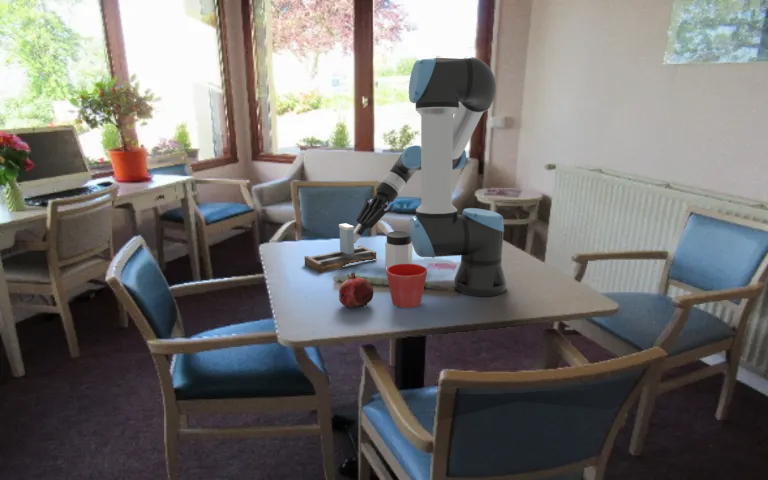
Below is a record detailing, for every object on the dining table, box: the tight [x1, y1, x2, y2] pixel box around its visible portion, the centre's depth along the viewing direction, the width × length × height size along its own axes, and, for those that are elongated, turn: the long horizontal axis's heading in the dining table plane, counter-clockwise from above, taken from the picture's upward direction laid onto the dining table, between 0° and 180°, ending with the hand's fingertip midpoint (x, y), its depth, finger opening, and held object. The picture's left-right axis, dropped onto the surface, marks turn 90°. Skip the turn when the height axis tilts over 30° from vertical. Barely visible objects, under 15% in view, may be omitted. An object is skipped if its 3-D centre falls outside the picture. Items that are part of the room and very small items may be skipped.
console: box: [304, 245, 377, 274], centre depth 169 cm, size 22×10×3 cm, turn 125°
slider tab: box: [338, 223, 355, 256], centre depth 169 cm, size 3×5×11 cm, turn 35°
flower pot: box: [385, 263, 428, 309], centre depth 135 cm, size 11×11×10 cm
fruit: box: [338, 270, 375, 309], centre depth 132 cm, size 9×10×10 cm
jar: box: [384, 230, 414, 268], centre depth 161 cm, size 9×8×12 cm
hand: (351, 240), depth 171 cm, fingers closed
